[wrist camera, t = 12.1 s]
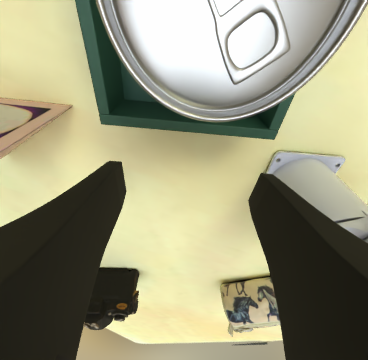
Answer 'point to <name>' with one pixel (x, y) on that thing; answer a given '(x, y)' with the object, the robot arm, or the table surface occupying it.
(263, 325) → the pencil case
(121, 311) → the film camera
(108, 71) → the tote
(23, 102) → the greeting card
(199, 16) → the can
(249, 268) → the table surface
